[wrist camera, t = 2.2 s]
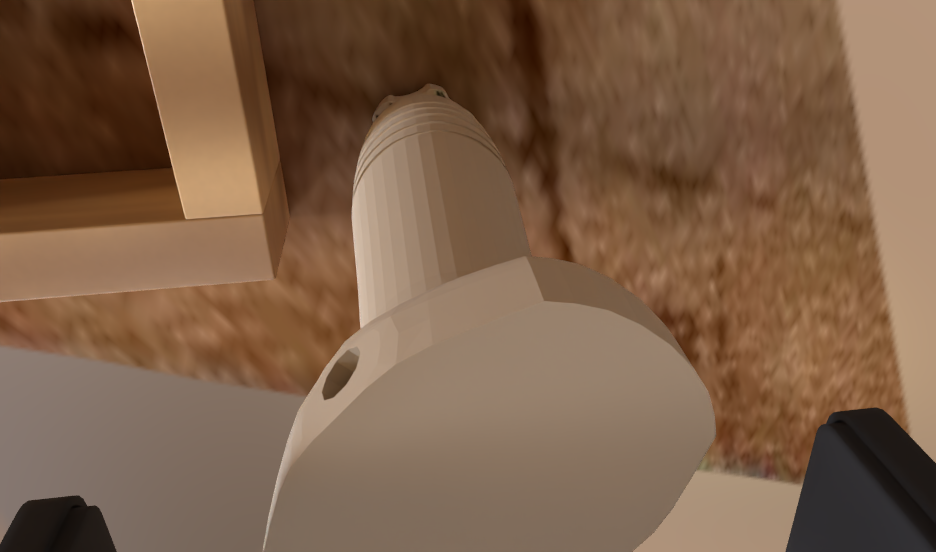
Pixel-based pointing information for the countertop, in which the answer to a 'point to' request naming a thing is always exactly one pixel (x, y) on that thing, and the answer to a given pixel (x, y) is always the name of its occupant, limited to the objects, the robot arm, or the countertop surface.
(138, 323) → the countertop surface
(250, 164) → the socket block
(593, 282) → the handle
